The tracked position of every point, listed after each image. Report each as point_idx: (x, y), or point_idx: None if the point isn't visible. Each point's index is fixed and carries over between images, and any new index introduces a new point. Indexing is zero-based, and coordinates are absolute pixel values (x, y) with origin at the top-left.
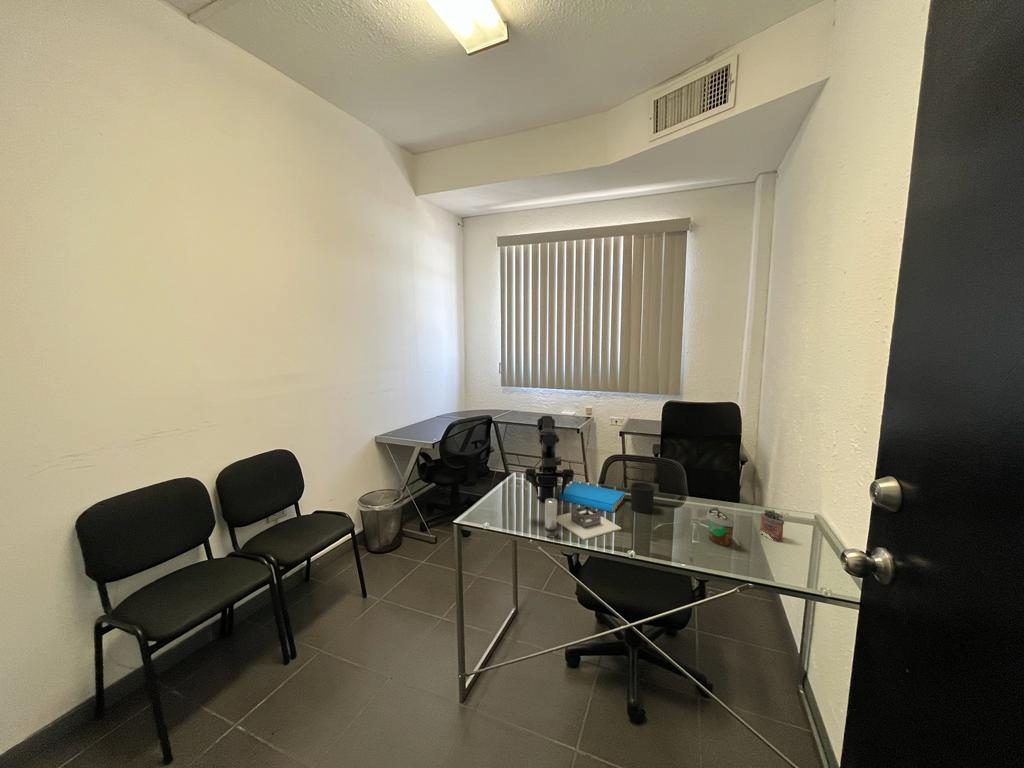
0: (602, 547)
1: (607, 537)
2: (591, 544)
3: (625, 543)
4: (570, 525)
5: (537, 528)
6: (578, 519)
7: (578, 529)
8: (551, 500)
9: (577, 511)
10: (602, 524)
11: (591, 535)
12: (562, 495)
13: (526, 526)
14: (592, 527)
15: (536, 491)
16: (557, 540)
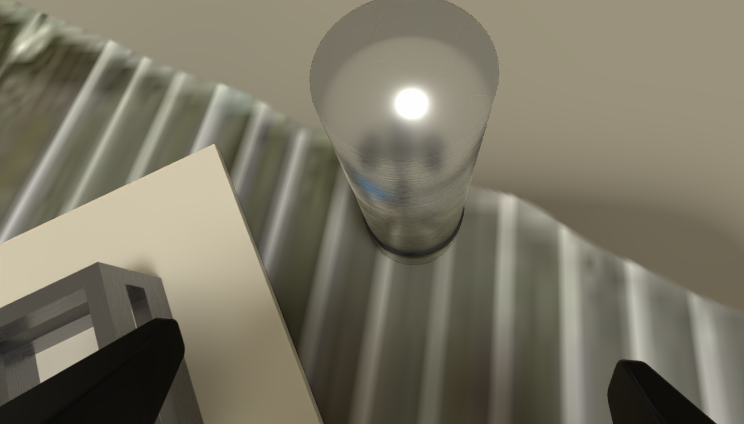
0: (146, 76)
1: (66, 182)
2: (191, 104)
3: (8, 117)
4: (240, 337)
5: (507, 324)
6: None
7: (203, 267)
8: (397, 72)
9: None
10: None
11: (150, 182)
12: (167, 325)
13: (603, 367)
14: None
15: (698, 411)
16: None
